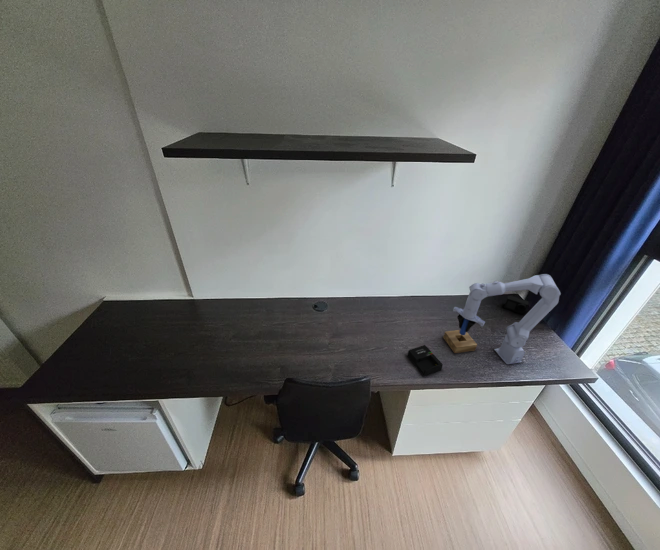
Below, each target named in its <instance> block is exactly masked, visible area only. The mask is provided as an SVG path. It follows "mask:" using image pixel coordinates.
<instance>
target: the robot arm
mask: <svg viewBox="0 0 660 550" xmlns="http://www.w3.org/2000/svg"><path fill="white" fill-rule="evenodd" d="M468 289H469V294H468V296H467V299H466V301H465V303H464V307H463V308H461V307H458V306H454V307H453V309H452V312H453V313H457V314H458V315H457V317H456V318H457V319H458V320H457V321H458V329H461V326H462V323H463V320H464V318H465V319H468V320H470V321H469V322H468V326H467V329H466V331H465V332H467V333H468V332H469V331H470V329H471V328H472V327H473V326H474V325H476V324H478V325H479V326H480V327H484V325H485V323H486V321H485V320H483V319H482V318H481V317H480V316H478V315H477V314H478V311H479V308H480V306H481V303H482V300H484V299H486V298H488V297H493V296H501V295H505V293H506V292H515V291H527V290H528V291H530V292H531V293H532V294H535V295H538V293H539V296H540V297H541V298H540V299H539V300H538V301H537V303H535V305H534V306H533V307H532V308H530V310H529V311H528V312H527V313H526V314H524V315H523V317H522V318H521V319H520V320H519V321H514V322H513V323H512V324H510V325H507V327H506V328H505V331H506V334H505V336H504V338H503V340H502V342H501V345H500V347H497V348H494V349H493V350H494V351H495V353H496V354H497V355H498V356H499V357H500V358H501V360H502V361H503V362H504V363H505V364H506V365H513V364H519V363H522V362H523V361H522V360H523V358H524V356H525V354H526V351H525V350H524V349H523V347H524V346H525V345H526V344H527V341H528V340H529V338H530V333H531V331H532V330H533V329H534V328H535V327H536V326H537V325H538V324H539V323H540V322H541V321H542V320H543V319H544V318H545V317H546V316H547V315H548V314H549V312H551V311H552V310H553V309H554V308H555V307H556V306H557V305H558V304H559V302H560V301H559V300H560V296H561V294H562V293H561V290H560V289H559V287H558V286H557V284H556V282H555V281H554V278H553V277H552V276H551V275H550V274H548V273H541V274H536V275H533V276H531V277H528V278H524V279H519V280H514V281H509V282H502V281H497V280H494V281H493V282H487V283H486V282H485V283H480V282H474V283H472V284H471V285H469V287H468Z"/></svg>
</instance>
